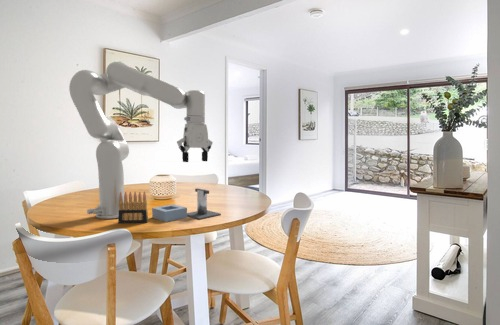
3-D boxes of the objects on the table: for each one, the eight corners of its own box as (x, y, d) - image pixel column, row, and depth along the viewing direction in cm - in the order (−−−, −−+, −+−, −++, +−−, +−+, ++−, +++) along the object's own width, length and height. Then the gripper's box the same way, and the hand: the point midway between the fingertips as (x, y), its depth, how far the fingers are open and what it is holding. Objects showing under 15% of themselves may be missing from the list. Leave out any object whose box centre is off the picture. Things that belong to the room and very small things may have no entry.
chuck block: (165, 222, 122) (165, 211, 122) (152, 217, 129) (152, 207, 129) (187, 217, 129) (186, 207, 129) (173, 213, 136) (173, 204, 136)
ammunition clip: (148, 221, 123) (147, 191, 122) (147, 223, 121) (146, 191, 120) (119, 222, 122) (119, 191, 121) (118, 223, 120) (117, 192, 119)
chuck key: (204, 216, 129) (204, 191, 128) (192, 212, 135) (192, 189, 134) (211, 214, 132) (211, 190, 131) (200, 211, 138) (200, 188, 137)
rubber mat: (199, 219, 126) (199, 218, 126) (183, 215, 133) (183, 213, 133) (220, 215, 134) (220, 213, 134) (204, 210, 141) (204, 209, 141)
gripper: (182, 119, 124) (182, 162, 125) (217, 121, 136) (216, 161, 137) (172, 119, 129) (172, 161, 130) (206, 122, 141) (206, 160, 142)
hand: (195, 161), depth 134 cm, fingers open, 9 cm apart
